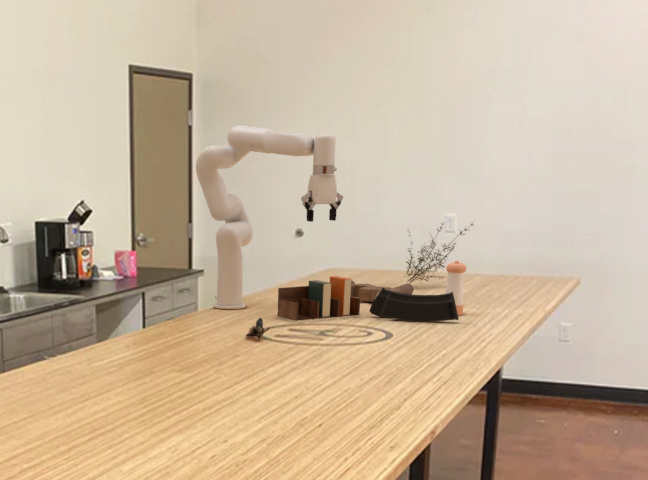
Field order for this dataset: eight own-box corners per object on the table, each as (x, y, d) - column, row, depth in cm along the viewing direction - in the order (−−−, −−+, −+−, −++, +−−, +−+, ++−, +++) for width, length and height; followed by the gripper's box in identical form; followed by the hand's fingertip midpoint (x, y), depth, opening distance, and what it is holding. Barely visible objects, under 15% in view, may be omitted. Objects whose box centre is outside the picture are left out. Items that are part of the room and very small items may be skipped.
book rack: (277, 318, 383) (278, 287, 380) (339, 312, 394) (341, 283, 391) (295, 322, 373) (297, 291, 370) (359, 317, 384) (360, 286, 381)
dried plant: (428, 250, 436) (481, 199, 458) (366, 252, 459) (419, 203, 480) (445, 315, 452) (495, 263, 473) (383, 314, 474) (434, 264, 496)
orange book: (328, 312, 390) (329, 276, 386) (334, 311, 391) (336, 276, 387) (342, 315, 382) (344, 279, 378) (349, 315, 384) (351, 278, 380)
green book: (307, 314, 387) (308, 280, 383) (315, 313, 388) (316, 280, 384) (321, 317, 379) (323, 283, 375) (330, 316, 380) (331, 282, 376)
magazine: (467, 296, 368) (385, 268, 375) (467, 297, 365) (384, 269, 372) (449, 342, 375) (368, 314, 381) (448, 344, 372) (367, 315, 378)
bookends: (393, 305, 412) (419, 296, 436) (394, 290, 411) (420, 282, 434) (310, 299, 430) (339, 290, 454) (311, 285, 428) (339, 277, 452)
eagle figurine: (275, 337, 339) (267, 327, 346) (265, 319, 335) (257, 310, 343) (255, 350, 339) (247, 340, 347) (245, 333, 336) (237, 323, 344)
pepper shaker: (466, 313, 390) (471, 260, 384) (456, 316, 385) (461, 262, 379) (448, 311, 395) (452, 259, 389) (438, 314, 390) (442, 260, 384)
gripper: (337, 170, 383) (335, 219, 389) (296, 171, 376) (295, 221, 382) (349, 170, 377) (347, 220, 382) (308, 171, 370) (306, 222, 375)
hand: (321, 220), depth 382 cm, fingers open, 9 cm apart
